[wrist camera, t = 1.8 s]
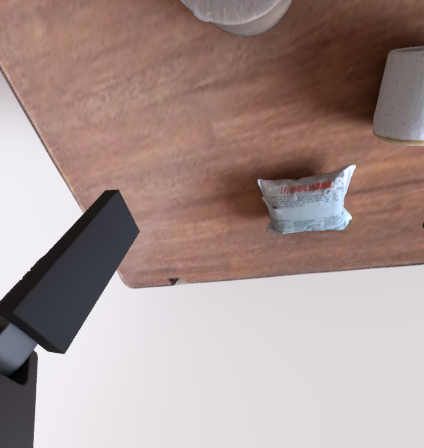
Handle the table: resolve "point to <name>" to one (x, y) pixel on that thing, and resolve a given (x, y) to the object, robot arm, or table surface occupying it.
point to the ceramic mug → (401, 98)
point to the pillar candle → (240, 14)
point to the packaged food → (308, 202)
